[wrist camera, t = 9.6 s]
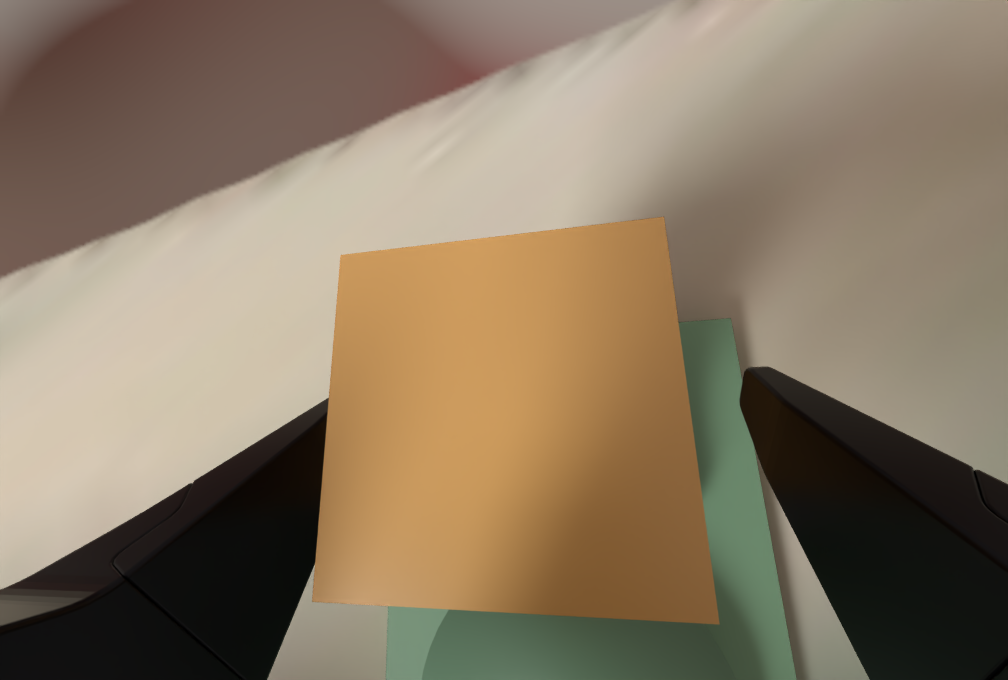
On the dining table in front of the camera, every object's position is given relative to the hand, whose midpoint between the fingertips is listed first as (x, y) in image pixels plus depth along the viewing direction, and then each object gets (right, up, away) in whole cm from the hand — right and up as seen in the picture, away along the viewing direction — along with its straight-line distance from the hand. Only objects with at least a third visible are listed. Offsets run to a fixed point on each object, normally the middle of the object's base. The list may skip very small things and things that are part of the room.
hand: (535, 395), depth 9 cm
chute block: (+2, -2, +8) cm, 8 cm away
